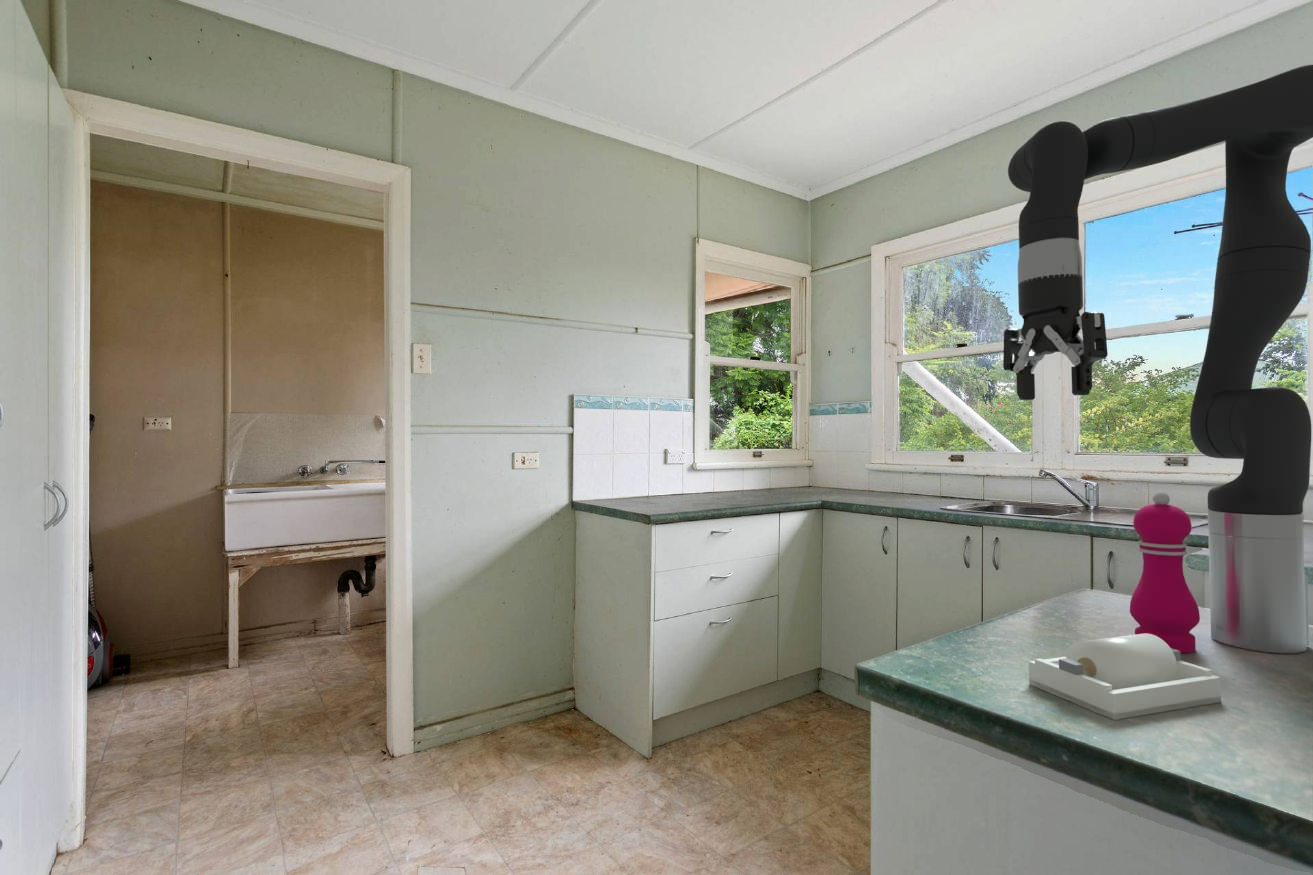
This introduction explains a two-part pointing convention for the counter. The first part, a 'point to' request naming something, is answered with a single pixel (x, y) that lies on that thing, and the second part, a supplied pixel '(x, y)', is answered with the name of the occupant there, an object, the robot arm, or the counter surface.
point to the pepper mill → (1164, 576)
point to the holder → (1098, 696)
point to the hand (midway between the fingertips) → (1052, 397)
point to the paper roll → (1126, 660)
